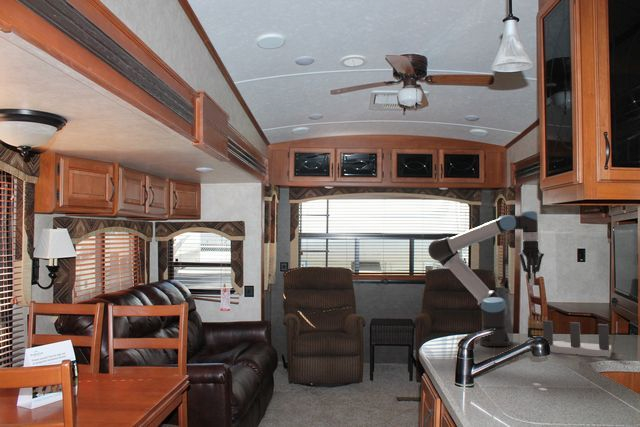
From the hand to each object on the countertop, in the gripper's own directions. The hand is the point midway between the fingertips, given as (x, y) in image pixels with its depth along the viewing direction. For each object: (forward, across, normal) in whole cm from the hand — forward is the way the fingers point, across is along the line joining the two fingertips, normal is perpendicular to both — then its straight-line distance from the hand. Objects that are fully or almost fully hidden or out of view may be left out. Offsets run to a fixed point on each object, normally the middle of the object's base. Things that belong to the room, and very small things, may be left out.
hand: (531, 285), depth 284 cm
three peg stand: (+29, +12, -24) cm, 40 cm away
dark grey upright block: (+26, +10, -28) cm, 39 cm away
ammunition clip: (+30, +6, +10) cm, 32 cm away
